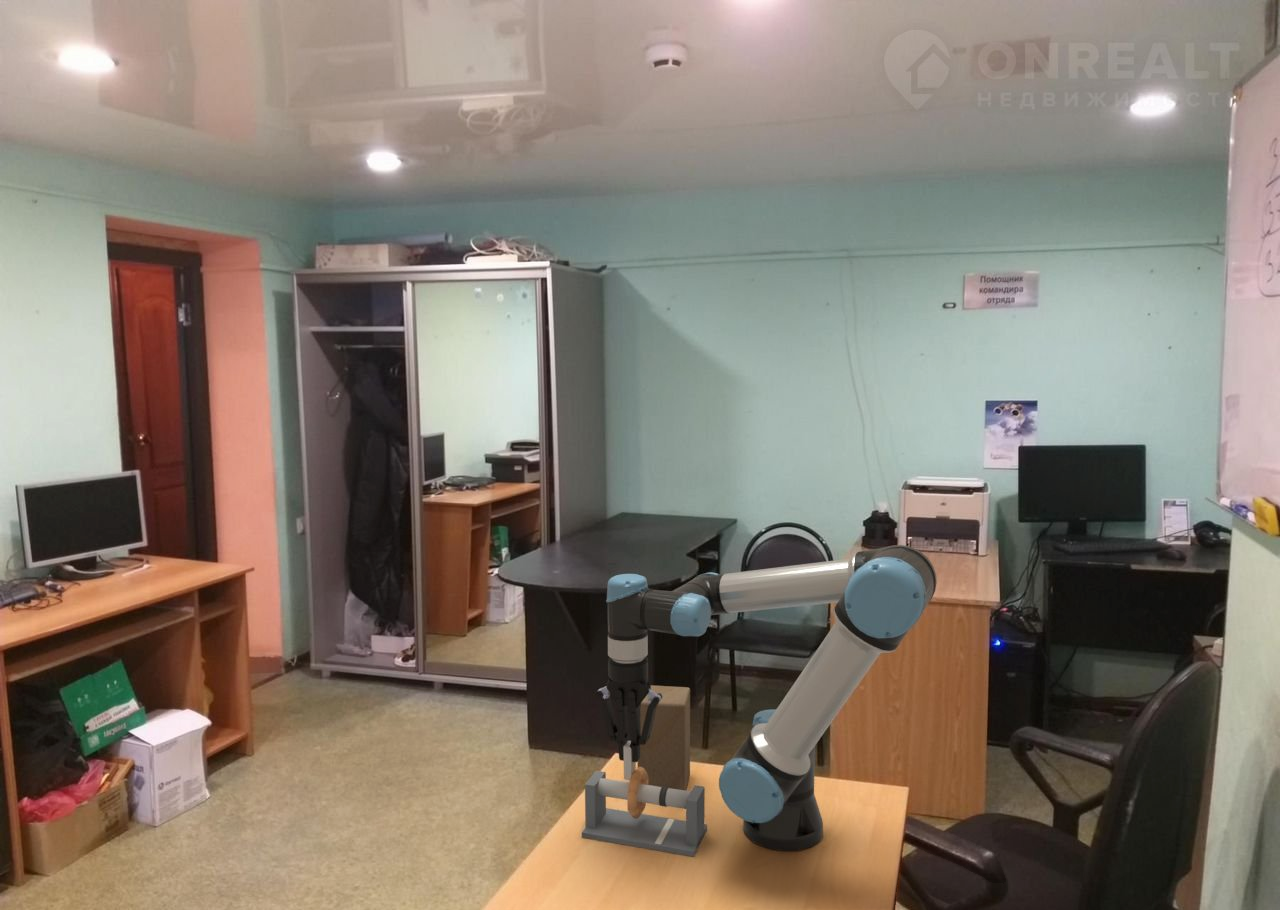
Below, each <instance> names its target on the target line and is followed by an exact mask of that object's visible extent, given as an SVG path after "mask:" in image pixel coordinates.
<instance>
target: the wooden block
mask: <svg viewBox="0 0 1280 910" xmlns="http://www.w3.org/2000/svg"><path fill="white" fill-rule="evenodd" d="M650 686H651V690H652V691H654V692H655V693H656V694H658V693H660V694H662V699H661V700H660V702H659V703H658V705H657V708H656V713H655V717H654V721H653V725H652V730H651V734H650V738H649V740H648V741H647V742H646V744H645V745H640V759H639V760H638V762H637V768H638V767H643V768H644V769H645V771H646V773H647V774H648V785H651V786H658V787H669V788H671V789H678V790H685V791H687V788H688V785H689V784H688V783H689V779H690V776H691V688H690V687H686V686H670V685H669V686H668V685H667V686H666V685H665V686H664V685H651V684H650ZM648 706H649V703H648V696H646V697H645V698H644V700H643V701H642V702H641V707H640V725H641V734H642V729H643V725H644V721H645V717H646V712H647V708H648Z"/></svg>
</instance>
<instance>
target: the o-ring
mask: <svg viewBox="0 0 1280 910" xmlns="http://www.w3.org/2000/svg"><path fill="white" fill-rule="evenodd" d="M629 782H630V784H629V789H628V794H627V798H628V800H627V812H629V813H630V814H631V816H632V817H633V818H634V819H637V818H639V817H640V815H641V814H643V812H644V810H646V805H647V803H644V802H637V792H638V788H639V784H644V785H648V774H647V773H646V771H645V769H644V768H643V767H638V766H637V767H636V770H635V772H634V773H633V775H632V776H631V780H629Z"/></svg>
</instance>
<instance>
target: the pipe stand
mask: <svg viewBox="0 0 1280 910" xmlns="http://www.w3.org/2000/svg"><path fill="white" fill-rule="evenodd" d="M606 776H607V775H606V771H602V770H601V771H600V770H595V771H594V772H593V774H592V775H591V776H590V778H589V779H588V780H587V781H586V782H585V783H584V810H585V811H584V813H585V814H584V816H585V822H584V824H585V827H584V829H583V830H582V832H581V838H583V839H588V840H589V839H590V840H595V841H599V842H600V841H601V842H606V843H612V844H618V845H623V846H630V847H635V848H641V849H647V850H651V851H652V850H653V851H658V852H659V851H660V852H665V853H668V854H669V853H670V854H675V855H682V856H687V857H694V858H695V856H696V853H697V852H698V849H699V847H700V845H701V844H702V841H703V838H704V837H705V834H706V832H707V830H708V824H706V823H705V815H706V814H705V813H706V812H705V807H706V806H705V799H706V798H705V797H706V796H705V794H706V793H705V787H706V786H703V785H693V787H692V789H691V791H690V790H686V791H685V790H678V789H671V788H669V787H658V786H651V785H644V784H639V788H638V792H637V802H644V803H646V804H651V805H658V806H660V807H664V808H667V807H670V808H678V809H682V810H683V809H684V810H685V811H686V812H685V820H682V819H676V818H671V817H670V818H669V817H663V816H657V815H651V814H647V813H646V814H645V813H642V814H641V815H640V817H639V818H637V819H634V818H633V817H632V816H631V814H630V813H629V812H628V810H627V811H626V810H622V809H621V810H620V809H612V808H607V798H613V799H620V800H625V801H628V798H627V794H628V789H629V784H630V781H624V780H618V779H611V778H606Z"/></svg>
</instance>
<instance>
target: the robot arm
mask: <svg viewBox="0 0 1280 910" xmlns="http://www.w3.org/2000/svg"><path fill="white" fill-rule="evenodd" d="M937 580H938V579H937V573H936V571H935V567H934V565H933V564H932V562H931V560H930V559H929V558H928V557H927V556H926V555H925V554H924V553H923V552H921V551H920V550H918V549H916V548H915V547H911V546H909V545H903V544H896V545H889V546H885V547H879V548H875V549H874V548H873V549H869V550H862V551H856V552H854V553H853V555H852V557H850V558H843V559H835V560H826V561H820V562H811V563H802V564H794V565H785V566H779V567H771V568H763V569H755V570H746V571H737V572H731V573H723V574H719V573H716V572H706V573H702V574H699V575H697V576H695V577H694V578H693V579H691V580H689V581H688V582H686V583H685V584H682V585H681V586H679V587H677V588H675V589H674V590H672V591H671V590H659V589H653V588H649V586H648V581H647V578H646V576H643V575H639V574H638V573H636V574H635V573H623V574H616V575H615V576H612V577H610V578H609V579H608V582H607V591H606V600H605V601H606V603H607V604H606V608H607V609H606V610H607V612H606V613H607V656H608V657H609V658H608V660H607V663H608V664H607V670H608V671H607V673H608V674H607V675H608V681H607V682H606V684H605V685H606V686H604V687H603V686H602V687H599V689H598V690H597V691H596V692H595V693H594V696H595V698H596V700H597V701H598V702H599V704H600V707H601V708H600V709H601V712H602V716H603V720H604V724H605V728H606V731H607V736H608V739H609V741H610V742H616V743H617V744H618V758H619V759H618V760H619V761H623V779H624V780H625V781H626V780H627V781H630V780H631V776H632V775H633V773H634V772H635V770H636V769H637V767H636V766H637V765H636V764H637V763H638V760H639V759H640V745H645V744H646V742H647V741H648V740H649V738H650V734H651V730H652V725H653V721H654V717H655V713H656V708H657V705H658V703H659V702H660V700H661V699H662V694H660V693H658V694H656V693H655V692H654V691H652V690H651V686H650V685H651V683H650V681H649V658H648V657H647V656H648V654H649V651H648V650H649V648H648V646H649V645H648V643H649V640H648V637H649V636H648V631H653V632H658V633H665V634H672V635H676V636H677V635H679V636H681V637H701V636H702V635H704V634H705V633H706V632H707V628H708V627H710V623H711V617H712V616H714V615H725V614H732V613H744V612H753V611H764V610H774V609H784V608H785V609H786V608H795V607H805V606H815V605H824V604H825V605H827V604H834V603H835V604H836V605H835V606H834V608H833V614H834V617H835V618H834V619H835V623H834V624H833V626H832V628H831V629H830V630H829V631H828V633H827V634H826V636H825V637H824V639H823V640H822V641H821V643H820V645H819V647H818V648H817V649H816V651H815V652H814V653H813V655H812V657H810V660H809V661H808V663H807V664H806V665H805V666H804V668H803V670H802V671H801V673H800V674H799V676H798V677H797V679H796V680H795V681H794V683H793V685H791V688H790V689H789V690H788V692H787V693H786V695H785V696H784V698H782V699H783V700H781V702H780V704H779V705H778V706H777V708H776V709H774V708H773V709H764V710H760V711H758V712H757V713H755V714H754V716H753V720H752V721H753V722H752V729H751V730H750V732H749V733H748V735H747V736H746V738H745V739H744V741H743V742H742V744H741V745H740V746H739V748H738V750H737V751H736V753H735V754H734V755H733V756H732V757H731V759H730V760H728V761H726V763H725V764H724V765H723V767H722V770H721V772H720V774H719V779H718V787H719V788H718V789H719V792H720V794H721V799H722V800H723V802H724V804H725V805H726V807H727V808H728V809H729V810H730V812H732V813H733V814H734V815H735V816H737V817H738V818H740V819H742V820H743V821H742V823H743V825H742V828H743V832H744V834H745V835H746V836H747V838H748V839H749V840H751V842H754V843H755V844H757V845H759V846H761V847H764V848H767V849H771V850H775V851H782V852H793V851H802V850H806V849H809V848H812V847H814V846H816V845H817V844H818V843H819V842H820V841H821V840H822V838H823V835H824V833H823V832H824V831H823V830H824V823H823V818H822V814H821V811H820V808H819V805H818V802H817V799H816V795H815V773H816V772H815V766H816V765H815V763H816V758H815V757H816V745H817V744H818V742H819V741H820V740H821V738H822V736H823V734H825V732H826V731H827V729H828V728H829V727H830V725H831V723H832V722H833V721H834V719H835V718H836V716H837V715H838V714H839V712H840V711H841V710H842V708H843V707H844V705H846V703H847V701H848V700H849V699H850V697H851V696H852V694H853V692H854V691H855V690H856V689H857V687H858V686H859V684H860V683H861V682H862V680H863V679H864V677H865V676H866V675H867V674H868V672H869V670H870V669H871V668H872V666H873V665H874V664H875V661H877V659H878V658H879V656H880V654H888V653H893V652H895V651H896V650H897V648H898V647H899V645H900V644H901V643H902V641H903V640H904V638H905V637H906V636H907V634H908V633H909V631H910V630H911V629H912V628H913V627H914V626H915V625H916V624H917V623H918V622H919V619H921V617H922V615H923V613H924V611H925V609H926V608H927V606H928V605H929V603H930V602H931V601H932V599H933V597H934V595H935V592H936V589H937V584H938V581H937ZM610 696H611V697H612V698H613V700H614V701H615V703H616V705H615V707H616V711H617V716H616V715H615V712H614V707H613V704H612V703H613V702H612V700H611V697H610ZM646 696H648V703H649V706H648V708H647V712H646V717H645V721H644V725H643V729H642V734H641V725H640V707H641V702H642V701H643V700H644V698H645V697H646ZM628 708H629V709H628ZM628 710H629V713H630V714H629V715H630V721H628V720H629V718H628ZM616 717H617V720H616ZM629 722H630V725H628V723H629ZM629 726H630V736H629V734H628V733H629V731H628V730H629ZM629 738H630V740H628V739H629Z"/></svg>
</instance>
